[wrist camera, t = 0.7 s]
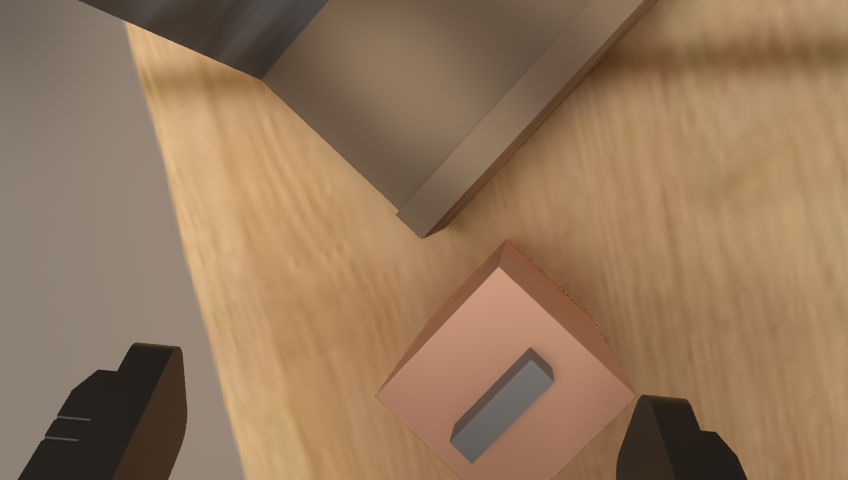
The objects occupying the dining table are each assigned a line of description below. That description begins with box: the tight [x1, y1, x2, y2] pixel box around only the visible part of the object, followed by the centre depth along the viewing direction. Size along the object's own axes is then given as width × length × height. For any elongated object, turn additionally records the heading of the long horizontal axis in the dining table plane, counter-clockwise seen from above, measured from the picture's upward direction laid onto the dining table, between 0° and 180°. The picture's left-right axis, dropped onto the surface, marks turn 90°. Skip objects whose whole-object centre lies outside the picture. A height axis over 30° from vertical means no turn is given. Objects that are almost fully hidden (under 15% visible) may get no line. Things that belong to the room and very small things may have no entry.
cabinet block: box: [375, 239, 636, 480], centre depth 25 cm, size 5×5×14 cm
